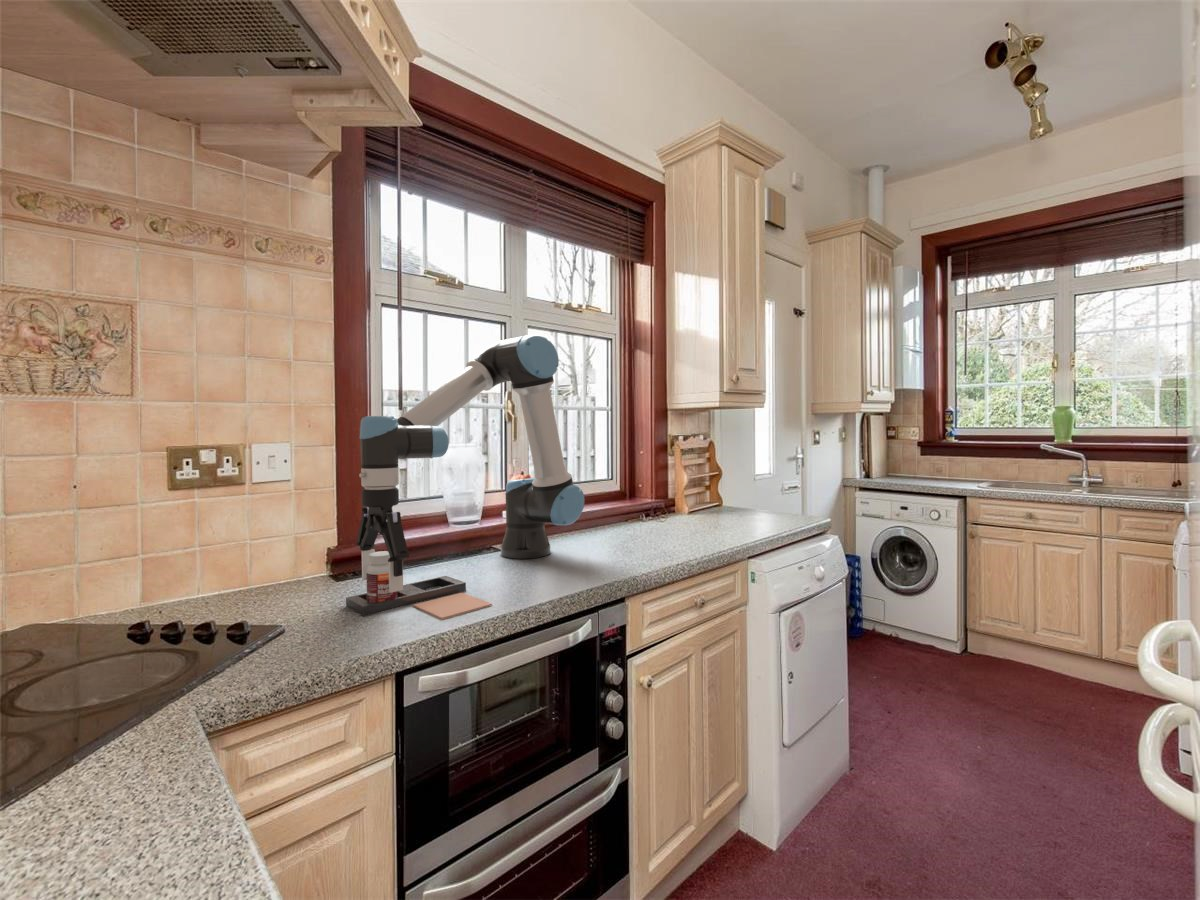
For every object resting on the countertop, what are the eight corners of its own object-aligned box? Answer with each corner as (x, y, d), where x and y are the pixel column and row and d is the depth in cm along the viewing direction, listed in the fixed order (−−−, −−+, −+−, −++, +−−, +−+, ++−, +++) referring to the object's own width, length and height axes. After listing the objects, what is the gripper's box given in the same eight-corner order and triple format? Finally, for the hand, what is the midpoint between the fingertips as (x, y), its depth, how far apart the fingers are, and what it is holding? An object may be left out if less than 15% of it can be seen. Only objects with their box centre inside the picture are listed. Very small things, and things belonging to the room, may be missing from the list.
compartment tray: (446, 583, 134) (445, 575, 134) (465, 590, 128) (465, 582, 128) (346, 606, 117) (345, 597, 117) (363, 616, 111) (363, 606, 110)
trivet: (461, 594, 125) (461, 592, 125) (492, 605, 117) (492, 603, 117) (413, 606, 117) (413, 604, 117) (441, 619, 108) (441, 617, 108)
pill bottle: (380, 611, 114) (378, 557, 113) (360, 606, 117) (359, 554, 116) (403, 603, 119) (402, 552, 119) (384, 598, 122) (383, 549, 122)
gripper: (339, 485, 123) (341, 577, 124) (389, 493, 106) (391, 600, 106) (372, 482, 128) (374, 571, 129) (424, 490, 111) (426, 592, 112)
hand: (381, 584), depth 118 cm, fingers open, 13 cm apart
